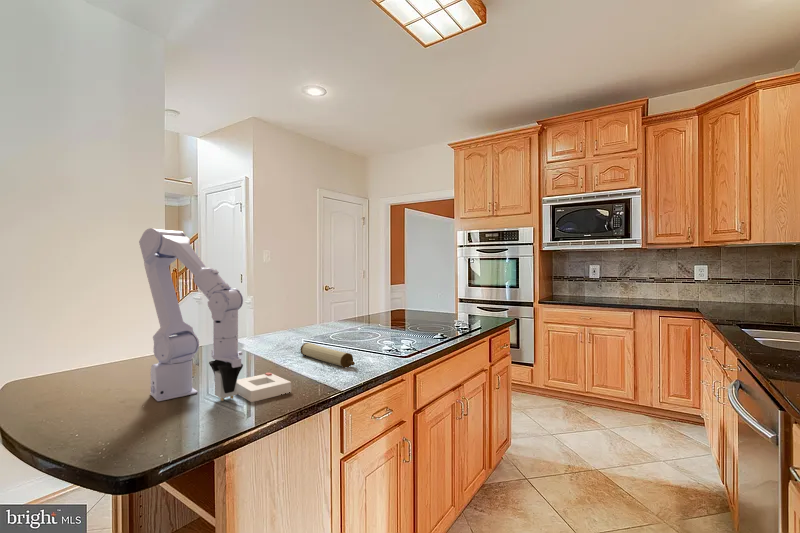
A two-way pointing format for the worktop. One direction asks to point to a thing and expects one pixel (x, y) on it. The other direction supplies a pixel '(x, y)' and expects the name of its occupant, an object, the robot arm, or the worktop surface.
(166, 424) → the worktop surface
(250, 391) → the socket box
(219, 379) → the plug
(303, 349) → the rolling pin
